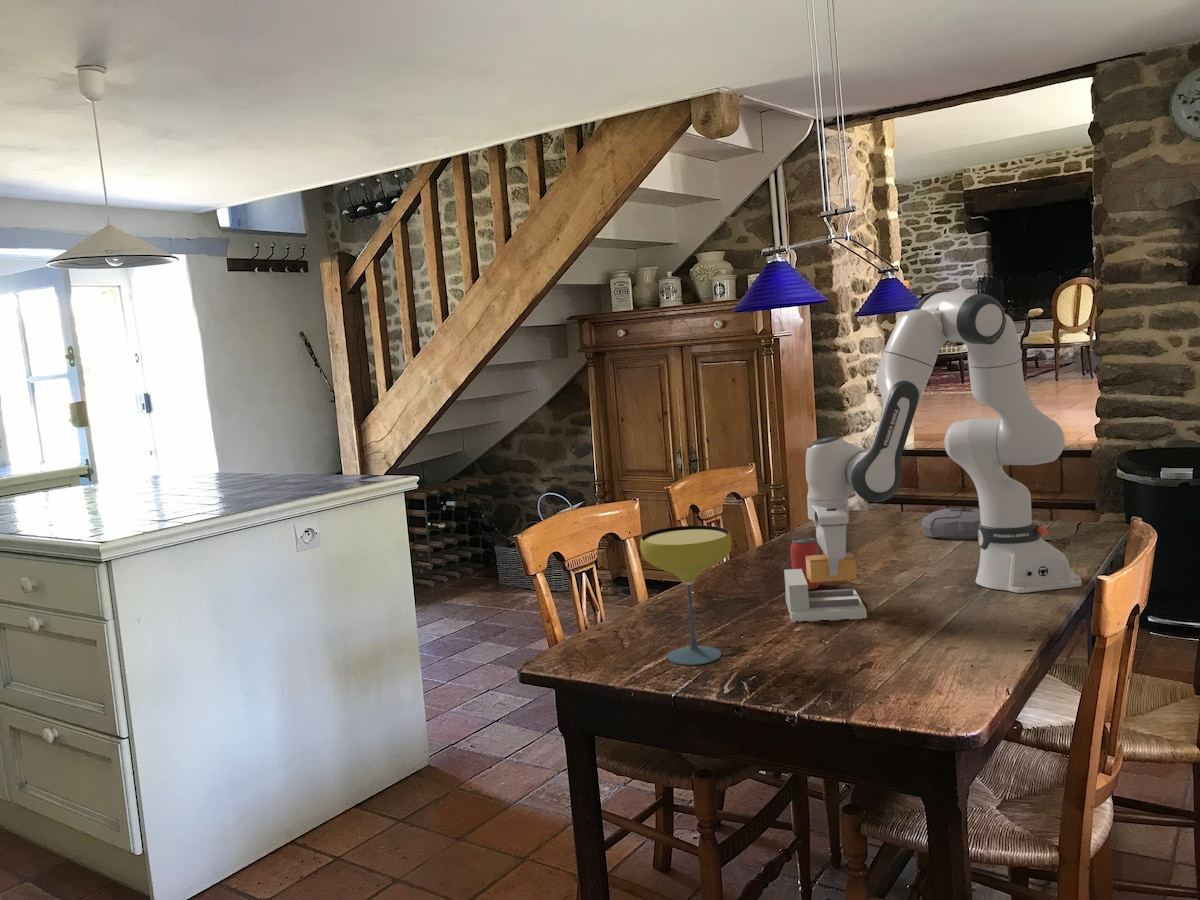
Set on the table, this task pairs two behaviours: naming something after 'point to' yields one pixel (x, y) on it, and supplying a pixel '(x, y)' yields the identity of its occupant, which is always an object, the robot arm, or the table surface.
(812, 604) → the white l-shaped stand
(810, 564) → the cardboard box
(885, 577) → the table surface
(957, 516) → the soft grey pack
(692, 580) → the cocktail glass
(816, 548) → the beer can
